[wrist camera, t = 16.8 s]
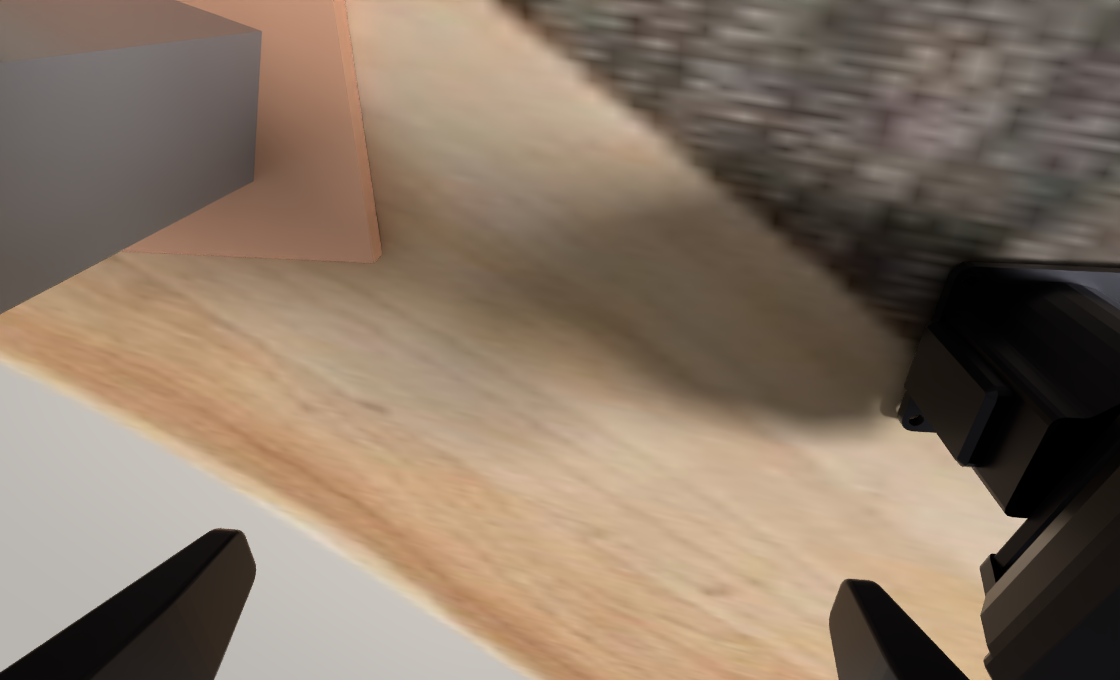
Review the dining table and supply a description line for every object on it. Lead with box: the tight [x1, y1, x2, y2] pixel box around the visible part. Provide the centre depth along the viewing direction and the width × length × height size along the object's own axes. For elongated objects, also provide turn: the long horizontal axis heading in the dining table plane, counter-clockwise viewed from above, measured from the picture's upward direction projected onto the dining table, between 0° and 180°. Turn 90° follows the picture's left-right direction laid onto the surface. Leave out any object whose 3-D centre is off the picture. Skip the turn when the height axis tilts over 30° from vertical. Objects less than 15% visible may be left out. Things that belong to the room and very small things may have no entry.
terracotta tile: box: [122, 0, 382, 263], centre depth 18 cm, size 10×11×1 cm
